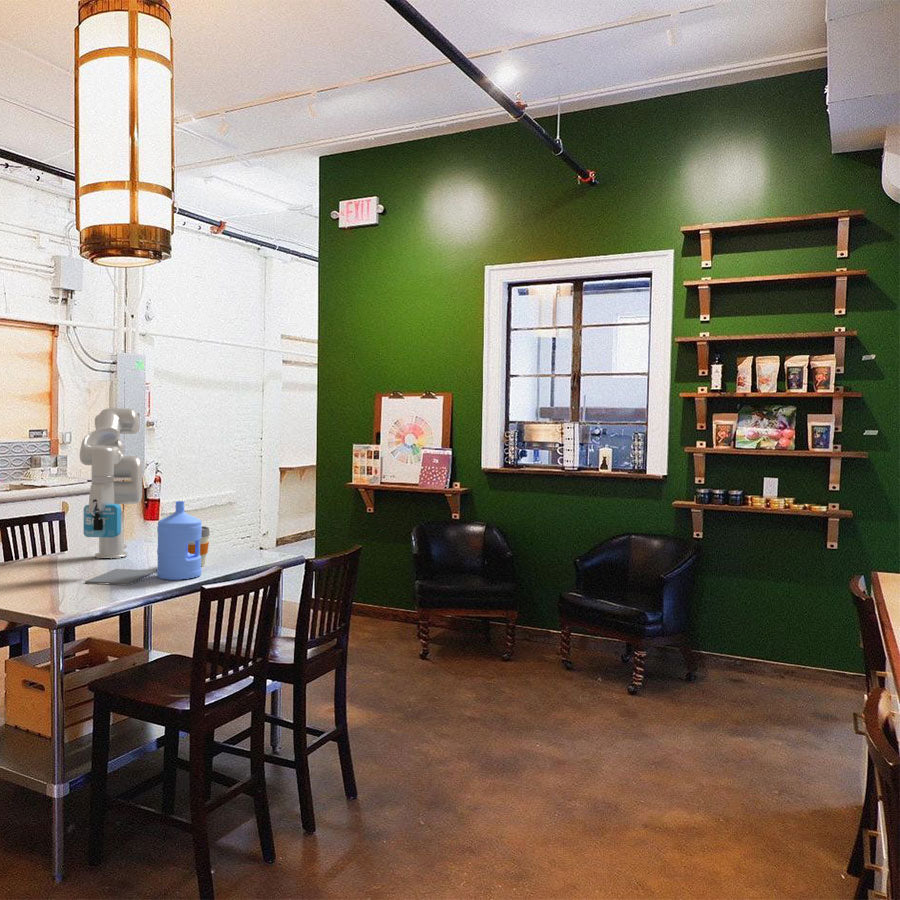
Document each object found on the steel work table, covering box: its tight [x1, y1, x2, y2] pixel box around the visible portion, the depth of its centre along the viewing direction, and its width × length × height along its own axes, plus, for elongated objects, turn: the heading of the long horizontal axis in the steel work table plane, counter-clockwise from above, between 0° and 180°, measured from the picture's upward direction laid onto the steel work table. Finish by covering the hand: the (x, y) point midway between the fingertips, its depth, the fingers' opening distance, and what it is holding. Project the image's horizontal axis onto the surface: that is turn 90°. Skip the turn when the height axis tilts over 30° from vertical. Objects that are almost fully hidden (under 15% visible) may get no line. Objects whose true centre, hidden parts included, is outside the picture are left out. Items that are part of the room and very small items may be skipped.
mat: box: [84, 568, 158, 585], centre depth 281 cm, size 22×16×1 cm
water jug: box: [156, 500, 203, 581], centre depth 285 cm, size 16×16×28 cm
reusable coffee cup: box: [188, 525, 210, 567], centre depth 305 cm, size 13×13×15 cm
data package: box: [83, 503, 122, 538], centre depth 284 cm, size 12×4×12 cm, turn 96°
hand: (102, 528), depth 284 cm, fingers closed on data package, 5 cm apart
